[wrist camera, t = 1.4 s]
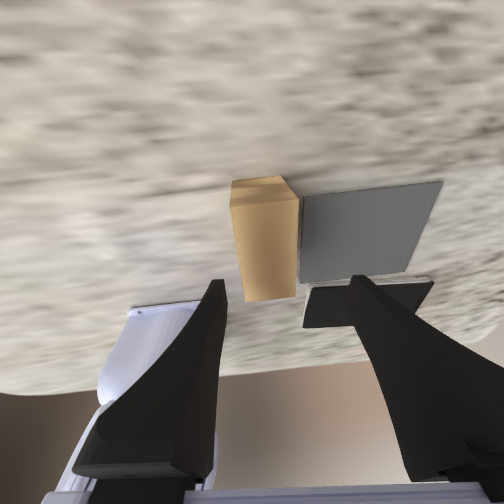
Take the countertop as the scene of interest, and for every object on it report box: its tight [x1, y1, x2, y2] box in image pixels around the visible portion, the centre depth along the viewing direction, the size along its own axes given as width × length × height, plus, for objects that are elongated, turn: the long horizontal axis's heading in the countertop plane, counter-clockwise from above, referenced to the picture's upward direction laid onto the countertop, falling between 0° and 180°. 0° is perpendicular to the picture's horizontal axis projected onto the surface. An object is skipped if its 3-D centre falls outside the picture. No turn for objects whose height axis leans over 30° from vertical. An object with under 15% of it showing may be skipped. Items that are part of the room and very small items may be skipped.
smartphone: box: [301, 276, 434, 329], centre depth 26 cm, size 8×1×15 cm
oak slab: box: [230, 176, 299, 302], centre depth 16 cm, size 4×8×6 cm, turn 6°
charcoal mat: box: [299, 181, 443, 284], centre depth 20 cm, size 12×10×1 cm
